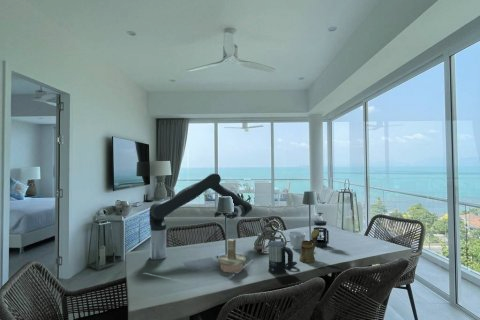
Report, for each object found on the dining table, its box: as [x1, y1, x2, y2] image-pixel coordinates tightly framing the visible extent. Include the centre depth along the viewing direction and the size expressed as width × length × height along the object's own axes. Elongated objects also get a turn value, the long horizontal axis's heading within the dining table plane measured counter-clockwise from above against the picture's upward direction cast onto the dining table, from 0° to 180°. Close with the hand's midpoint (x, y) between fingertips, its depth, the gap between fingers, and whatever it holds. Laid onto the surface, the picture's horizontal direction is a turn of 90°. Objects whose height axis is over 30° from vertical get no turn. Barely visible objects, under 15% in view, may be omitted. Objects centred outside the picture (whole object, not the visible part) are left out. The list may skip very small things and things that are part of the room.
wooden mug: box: [299, 229, 320, 264], centre depth 162 cm, size 9×14×18 cm, turn 116°
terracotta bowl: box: [220, 263, 244, 275], centre depth 147 cm, size 11×11×5 cm
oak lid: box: [217, 238, 246, 266], centre depth 147 cm, size 15×15×11 cm
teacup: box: [287, 231, 307, 250], centre depth 184 cm, size 12×15×10 cm
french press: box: [313, 212, 330, 249], centre depth 190 cm, size 12×9×23 cm
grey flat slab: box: [182, 256, 221, 273], centre depth 154 cm, size 18×16×1 cm
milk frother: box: [267, 240, 298, 275], centre depth 147 cm, size 14×16×15 cm
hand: (220, 215), depth 167 cm, fingers open, 8 cm apart
